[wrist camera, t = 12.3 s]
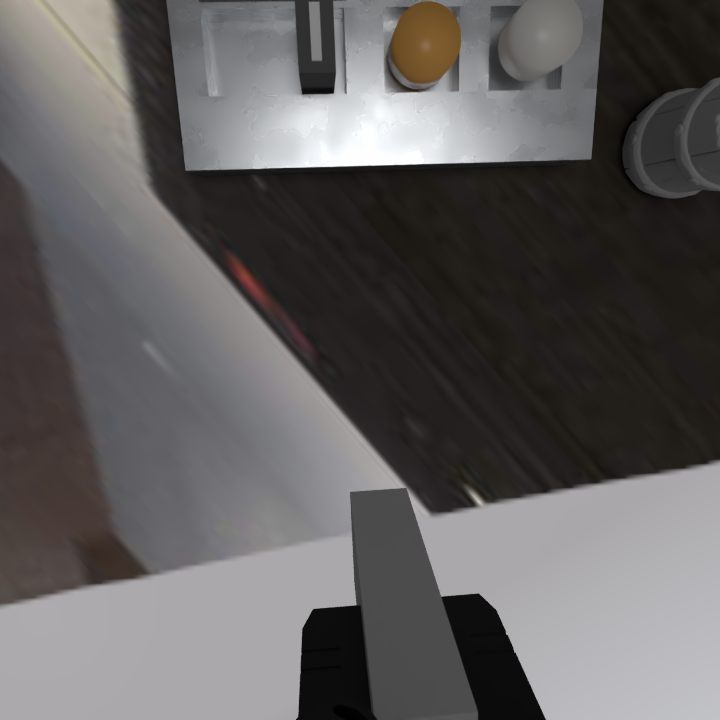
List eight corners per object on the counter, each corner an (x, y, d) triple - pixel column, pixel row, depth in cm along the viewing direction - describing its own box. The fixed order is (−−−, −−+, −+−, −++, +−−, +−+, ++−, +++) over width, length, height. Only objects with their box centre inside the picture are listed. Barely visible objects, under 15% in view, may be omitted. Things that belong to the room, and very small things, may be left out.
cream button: (496, 82, 34) (512, 69, 31) (499, 10, 33) (515, -11, 30) (558, 81, 35) (580, 68, 32) (563, 9, 33) (585, -11, 31)
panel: (199, 175, 39) (183, 169, 34) (175, -44, 35) (154, -83, 31) (565, 165, 40) (595, 158, 36) (579, -45, 37) (614, -82, 32)
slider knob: (302, 94, 36) (298, 71, 30) (298, 24, 35) (293, -11, 29) (334, 93, 36) (336, 71, 31) (331, 24, 35) (332, -11, 29)
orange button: (388, 89, 35) (394, 78, 32) (387, 19, 34) (393, 1, 31) (449, 88, 36) (460, 77, 33) (450, 19, 35) (461, 0, 32)
